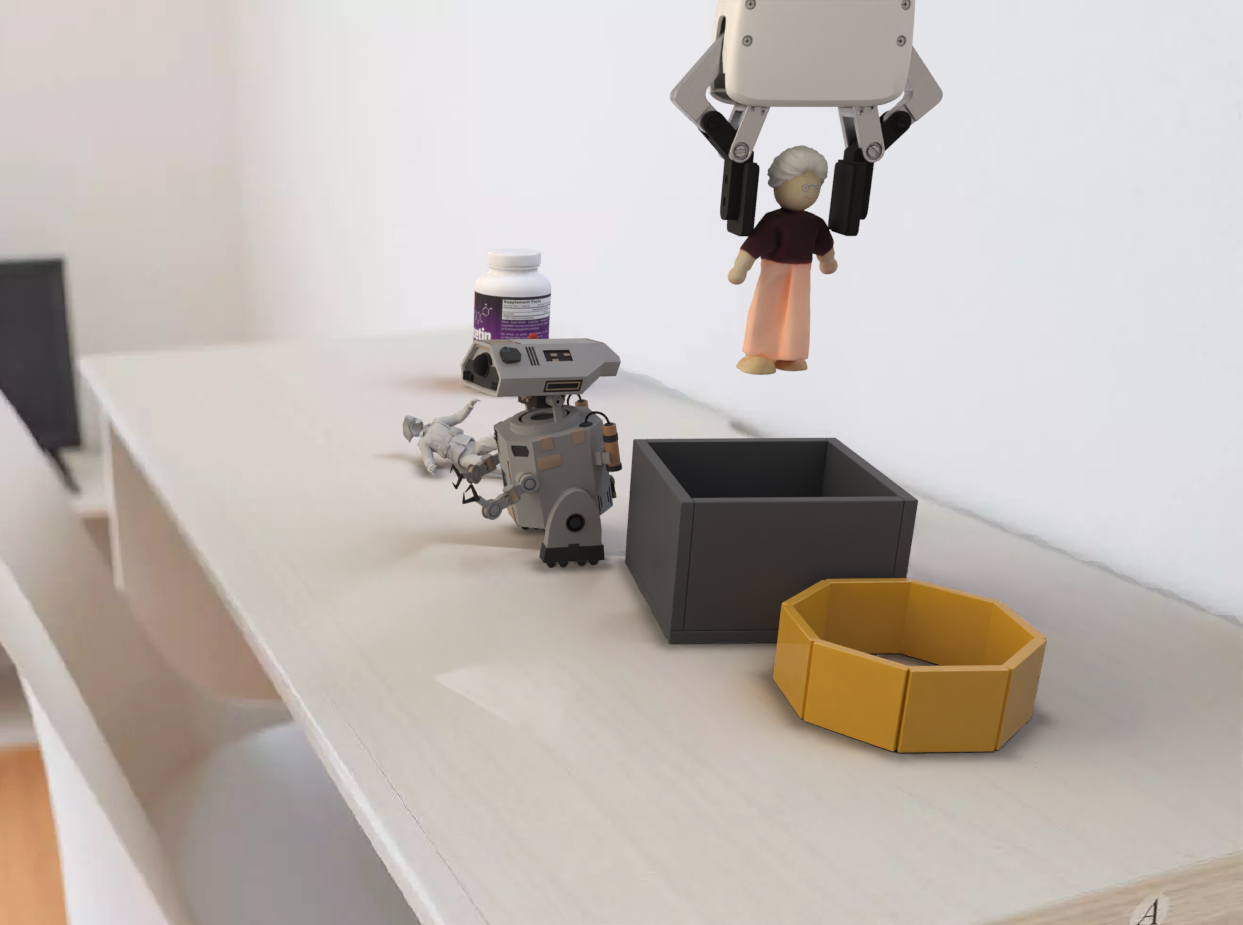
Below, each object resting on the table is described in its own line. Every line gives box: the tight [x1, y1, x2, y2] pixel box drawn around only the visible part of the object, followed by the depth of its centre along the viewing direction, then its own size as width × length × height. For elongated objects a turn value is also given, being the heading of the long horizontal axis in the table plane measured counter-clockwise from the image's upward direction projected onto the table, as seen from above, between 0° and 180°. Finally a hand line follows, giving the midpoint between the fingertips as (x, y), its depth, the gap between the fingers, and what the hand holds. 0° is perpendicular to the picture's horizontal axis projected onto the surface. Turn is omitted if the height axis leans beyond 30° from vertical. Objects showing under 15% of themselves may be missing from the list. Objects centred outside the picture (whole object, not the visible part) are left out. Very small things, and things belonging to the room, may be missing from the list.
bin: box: [624, 437, 919, 645], centre depth 80 cm, size 14×14×9 cm
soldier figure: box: [402, 398, 502, 476], centre depth 109 cm, size 8×5×12 cm
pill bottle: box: [472, 248, 552, 342], centre depth 135 cm, size 8×8×14 cm
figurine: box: [449, 333, 623, 569], centre depth 88 cm, size 9×12×15 cm
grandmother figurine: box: [727, 144, 839, 376], centre depth 74 cm, size 8×4×13 cm, turn 127°
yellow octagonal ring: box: [772, 577, 1048, 754], centre depth 68 cm, size 12×12×4 cm
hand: (791, 230), depth 74 cm, fingers closed on grandmother figurine, 5 cm apart
